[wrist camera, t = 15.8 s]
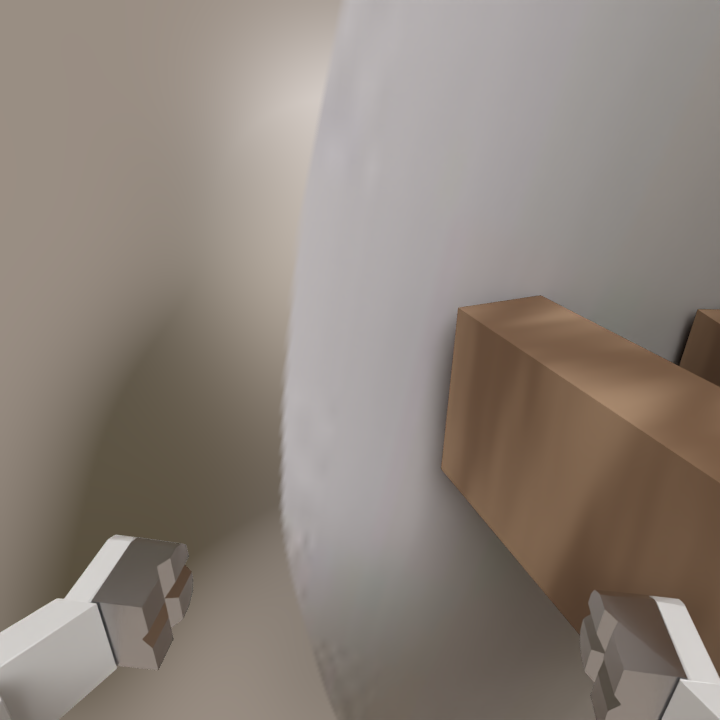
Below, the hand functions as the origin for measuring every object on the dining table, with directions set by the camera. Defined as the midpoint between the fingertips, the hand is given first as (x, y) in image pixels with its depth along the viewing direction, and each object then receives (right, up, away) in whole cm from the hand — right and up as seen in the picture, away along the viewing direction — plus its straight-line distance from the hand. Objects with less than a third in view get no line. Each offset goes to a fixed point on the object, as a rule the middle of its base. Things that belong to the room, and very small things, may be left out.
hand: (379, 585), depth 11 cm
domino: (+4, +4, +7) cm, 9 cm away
